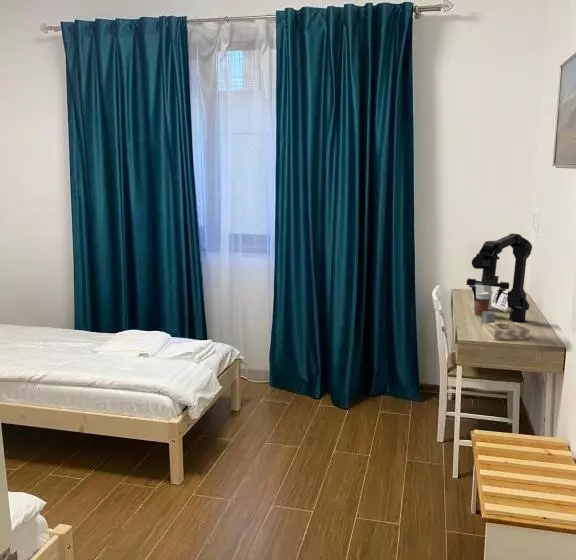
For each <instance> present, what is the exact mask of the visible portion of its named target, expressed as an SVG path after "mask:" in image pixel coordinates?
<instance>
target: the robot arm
mask: <svg viewBox="0 0 576 560" xmlns="http://www.w3.org/2000/svg"><path fill="white" fill-rule="evenodd" d="M507 247H510V248H512V255H513V257H514V258H515V261H514V269H513V270H514V271H513V281H512V287H511V289H510V283H509V282H508V281H500V282H499V276H498V275H496V273H497V271H496V270H497V262H498V260H500V257H499V256H498V255H499V254H500V253H502V252H503V249H505V248H507ZM532 249H533V245H532V243H531V242H530V241H529V240H528V239H526V238H525V237H523V236H522V235H521V234H519V233H509V234H508V235H506V236H504V237H501V238H499V239H497V240H487V241H485V242H484V243H483V244H482V247H481V248H480V250H479V251H478V253H476V254H475V255H476V256H473V258H472V260H471V265H472V267H473V268H474V269H476V270H480V269H481V270H482V275H481V280H477V278H470V277H469V278H467V279H466V285H465V286H468V287H469V288H471V290H472V295H473V294H474V299H475V301H476V286H475V285H483V286H491V287H497V288H498V289H497V290H498V291H497V295H496V298H495V304H497V303H498V301H499V299H500V297H501V295H502V294H503V292H506V290H509V291H508V292H507V298H506V302H507V308H509V309H510V311H509V318H508V319H509V320H510V321H511V322H516V323H527V319H526V315H527V314H526V312H527V311H529V309H530V303H529V301H528V299H527V294H526V292H525V289H524V284H525V275H526V274H525V273H526V268H527V267H526V266H527V260H528V258H529V257H530V256H531V253H532Z"/></svg>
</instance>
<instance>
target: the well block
mask: <svg viewBox="0 0 576 560" xmlns="http://www.w3.org/2000/svg"><path fill="white" fill-rule="evenodd" d="M481 326H482V327H481V332H482V334H483V333H484V334H485V335H486V336H487V337H489V338H491V339H492V340H493V341H495V340H496V341H501V340H502V339H506V340H529V339H530V333H531V332H530V329H528V328H527V327H525V326H524V325H522V324H520V323H519V322H513V321H511V322H510V321H509V322H508V321H507V322H495V323H482V322H481ZM502 341H503V340H502Z"/></svg>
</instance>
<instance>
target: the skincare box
mask: <svg viewBox="0 0 576 560" xmlns="http://www.w3.org/2000/svg"><path fill="white" fill-rule="evenodd" d="M475 286H476V292H488V293H489V295H490V296H491V297H492V286H483V285H475ZM473 295H474V294H473V293H472V296H473ZM472 309H474V298H473V297H472ZM489 309H490V310H492V298H491V299H490V301H489V308H488V311H490V310H489Z"/></svg>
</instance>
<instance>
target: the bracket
mask: <svg viewBox="0 0 576 560" xmlns="http://www.w3.org/2000/svg"><path fill="white" fill-rule="evenodd" d="M482 323H496V313H495V312H492V311H491V310H488V311H482V317H481V324H482Z"/></svg>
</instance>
